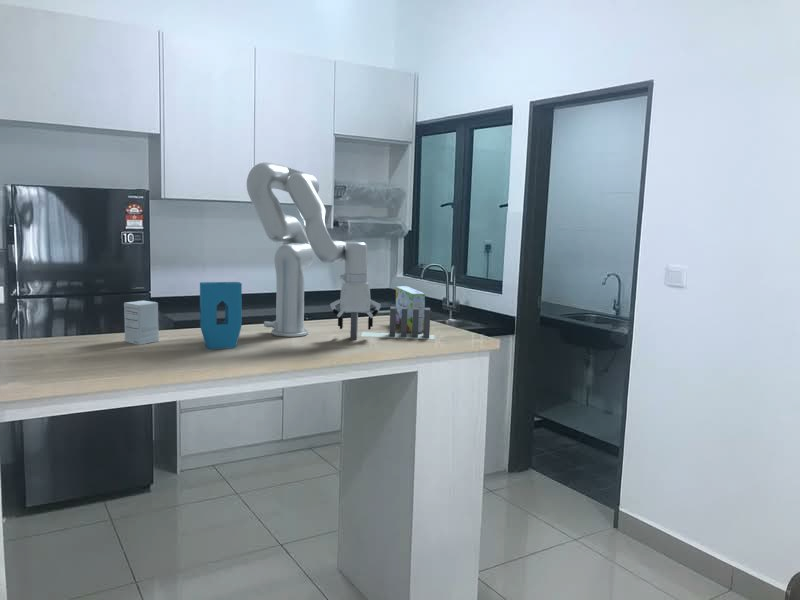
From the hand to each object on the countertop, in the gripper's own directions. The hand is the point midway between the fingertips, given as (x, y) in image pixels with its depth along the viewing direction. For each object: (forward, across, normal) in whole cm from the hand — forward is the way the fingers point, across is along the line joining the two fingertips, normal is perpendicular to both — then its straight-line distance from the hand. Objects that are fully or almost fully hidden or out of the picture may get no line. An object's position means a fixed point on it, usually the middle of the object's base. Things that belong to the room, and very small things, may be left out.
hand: (355, 328), depth 215 cm
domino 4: (+4, +20, +8) cm, 22 cm away
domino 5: (+4, +24, +8) cm, 26 cm away
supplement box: (+3, -66, -16) cm, 68 cm away
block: (+3, -40, -19) cm, 45 cm away
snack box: (+4, +18, +26) cm, 32 cm away
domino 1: (+4, 0, 0) cm, 4 cm away
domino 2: (+4, +12, +8) cm, 15 cm away
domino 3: (+4, +16, +8) cm, 19 cm away
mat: (+4, +14, +8) cm, 17 cm away
